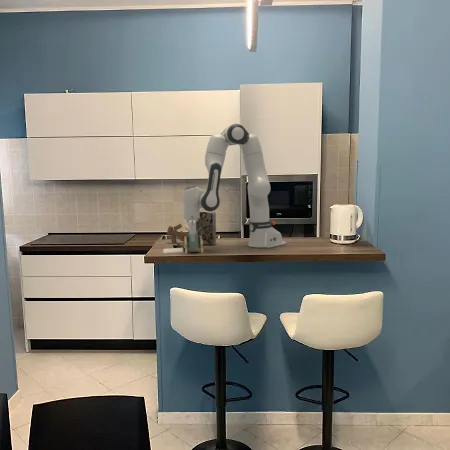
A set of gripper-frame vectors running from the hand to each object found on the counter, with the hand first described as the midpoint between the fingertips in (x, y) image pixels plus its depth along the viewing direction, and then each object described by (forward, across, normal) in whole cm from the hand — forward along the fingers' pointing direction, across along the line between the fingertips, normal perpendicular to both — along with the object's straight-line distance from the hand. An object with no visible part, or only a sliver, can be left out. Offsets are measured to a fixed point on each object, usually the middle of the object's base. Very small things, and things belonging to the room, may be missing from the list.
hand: (192, 239), depth 269 cm
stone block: (+6, +17, -8) cm, 20 cm away
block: (+4, 0, 0) cm, 4 cm away
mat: (+6, +1, +11) cm, 13 cm away
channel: (+6, 0, 0) cm, 6 cm away
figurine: (+6, +26, +8) cm, 28 cm away
